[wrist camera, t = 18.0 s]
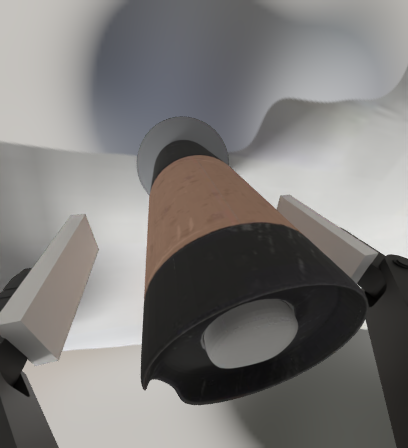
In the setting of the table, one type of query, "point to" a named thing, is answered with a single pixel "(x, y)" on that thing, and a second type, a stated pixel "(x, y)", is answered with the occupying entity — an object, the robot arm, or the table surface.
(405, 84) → the table surface
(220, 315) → the travel mug
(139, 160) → the coaster
